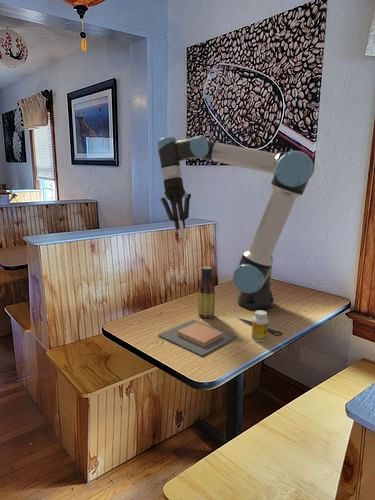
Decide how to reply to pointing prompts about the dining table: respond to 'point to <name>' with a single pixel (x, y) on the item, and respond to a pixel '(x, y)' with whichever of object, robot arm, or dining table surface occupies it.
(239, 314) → the dining table surface
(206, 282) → the sauce bottle
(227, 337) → the rubber mat
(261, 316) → the supplement bottle
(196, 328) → the terracotta tile
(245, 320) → the throwing knife
